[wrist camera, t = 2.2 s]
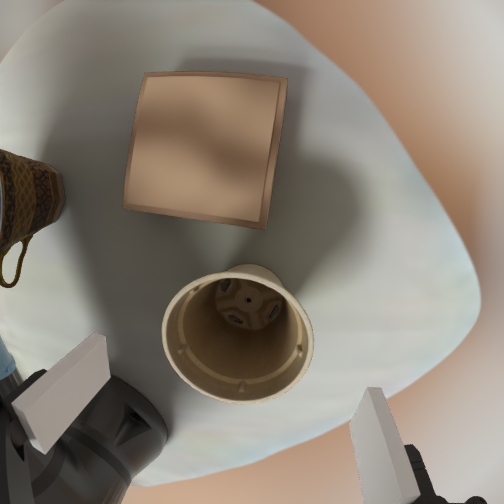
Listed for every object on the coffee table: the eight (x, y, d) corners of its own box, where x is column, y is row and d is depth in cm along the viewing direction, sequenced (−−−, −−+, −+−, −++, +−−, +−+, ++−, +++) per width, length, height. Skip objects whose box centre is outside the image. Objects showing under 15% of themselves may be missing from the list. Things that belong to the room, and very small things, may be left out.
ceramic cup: (16, 168, 25) (-46, 171, 15) (70, 136, 23) (-2, 125, 14) (36, 272, 27) (-24, 298, 18) (92, 257, 26) (23, 288, 16)
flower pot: (200, 237, 24) (160, 262, 16) (311, 250, 24) (328, 283, 15) (195, 334, 26) (164, 389, 18) (294, 348, 26) (298, 411, 17)
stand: (267, 223, 24) (264, 230, 20) (143, 205, 24) (120, 209, 20) (286, 94, 21) (287, 77, 17) (162, 86, 22) (143, 72, 18)
